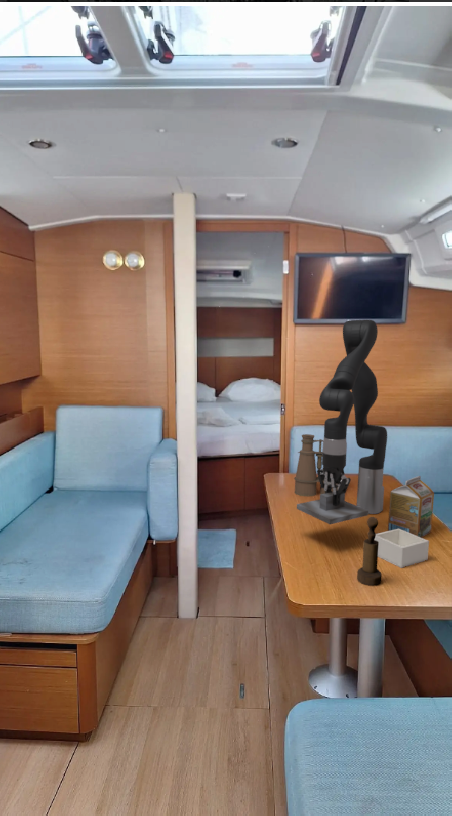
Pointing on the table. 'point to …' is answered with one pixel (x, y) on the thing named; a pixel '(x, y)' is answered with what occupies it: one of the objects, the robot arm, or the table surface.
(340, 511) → the lid
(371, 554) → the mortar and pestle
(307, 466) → the binoculars
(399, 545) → the white storage bin
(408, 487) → the milk carton
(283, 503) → the table surface
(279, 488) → the table surface
